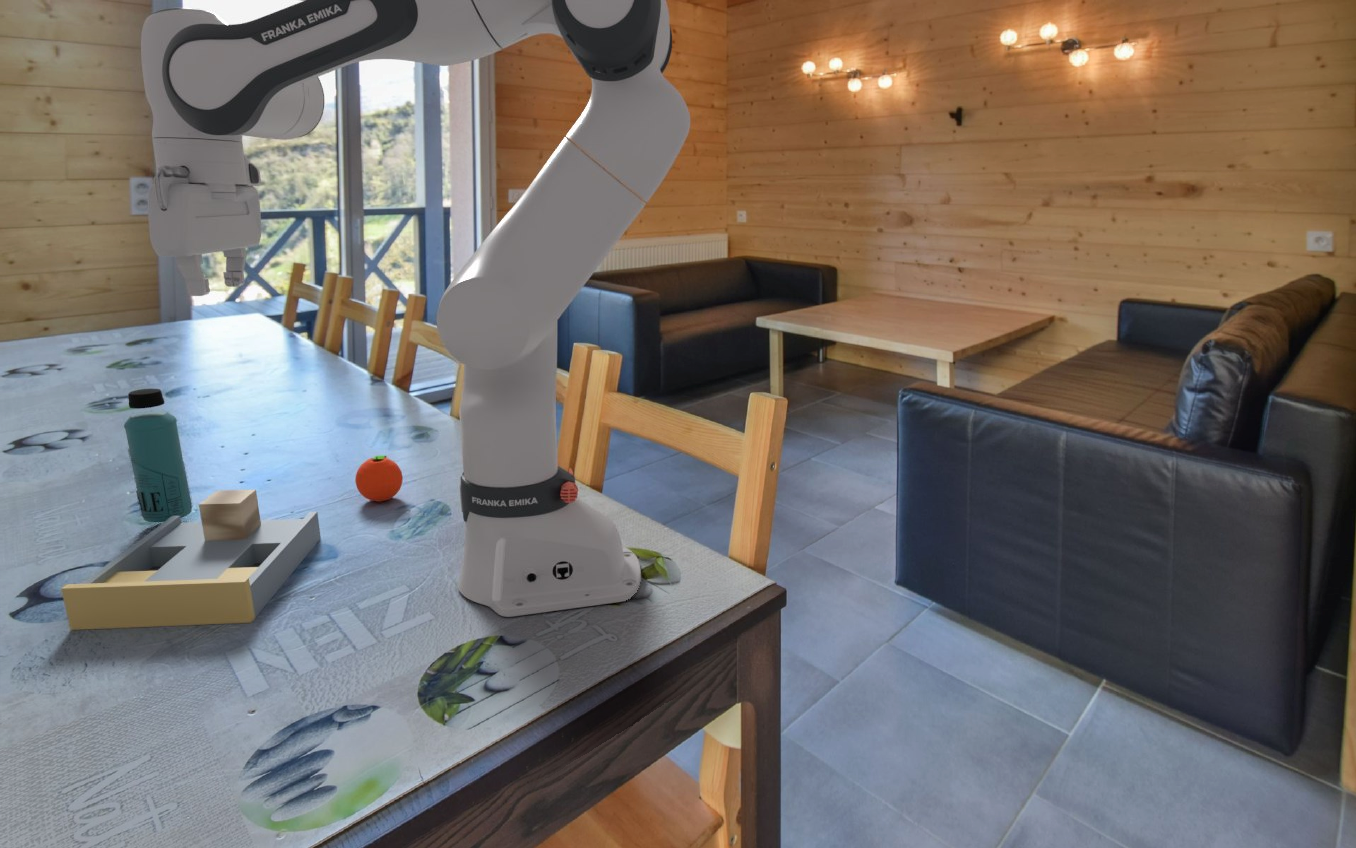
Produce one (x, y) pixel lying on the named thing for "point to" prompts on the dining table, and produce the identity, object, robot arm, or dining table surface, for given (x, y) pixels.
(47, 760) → the dining table surface
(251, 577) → the tray
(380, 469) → the clementine
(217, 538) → the cube
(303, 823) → the dining table surface
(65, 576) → the dining table surface
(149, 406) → the beverage bottle
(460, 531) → the dining table surface
